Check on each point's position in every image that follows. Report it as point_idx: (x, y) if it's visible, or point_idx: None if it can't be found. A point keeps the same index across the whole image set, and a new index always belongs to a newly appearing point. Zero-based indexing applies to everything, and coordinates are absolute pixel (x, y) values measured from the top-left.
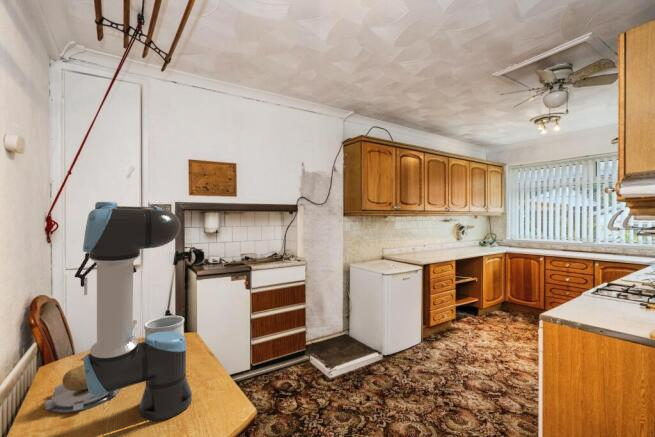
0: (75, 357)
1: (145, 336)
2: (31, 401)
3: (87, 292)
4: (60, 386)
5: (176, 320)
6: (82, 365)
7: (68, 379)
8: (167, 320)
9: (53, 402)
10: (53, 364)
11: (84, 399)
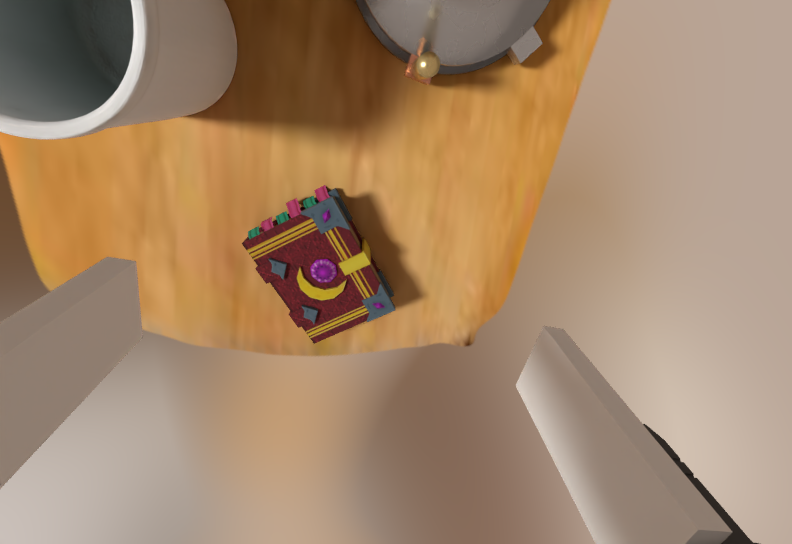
0: (430, 326)
1: (178, 16)
2: (580, 69)
3: (524, 389)
4: (526, 38)
5: None
6: None
7: None
8: (8, 113)
9: None
10: (483, 314)
11: None
